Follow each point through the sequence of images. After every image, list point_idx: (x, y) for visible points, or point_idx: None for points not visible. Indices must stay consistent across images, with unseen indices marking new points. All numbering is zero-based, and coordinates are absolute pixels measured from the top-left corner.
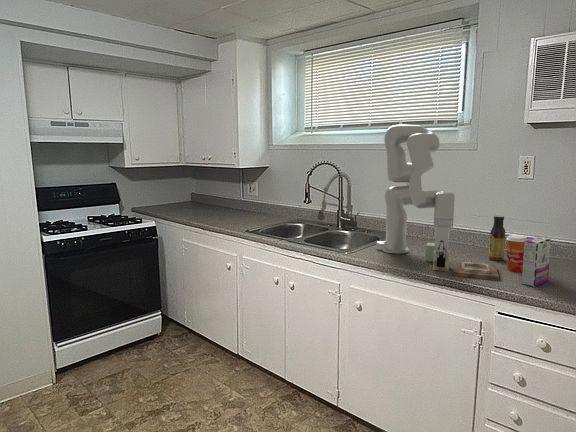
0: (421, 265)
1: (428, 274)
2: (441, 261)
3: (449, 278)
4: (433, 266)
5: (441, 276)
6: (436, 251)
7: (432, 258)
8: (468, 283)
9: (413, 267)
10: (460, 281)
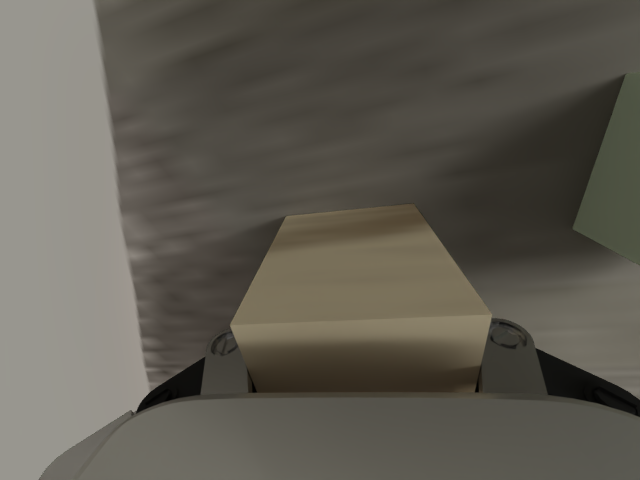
0: (377, 84)
1: (136, 209)
2: None
3: (159, 324)
4: (281, 231)
5: (161, 287)
6: (358, 347)
7: (627, 166)
8: (152, 387)
9: (249, 11)
10: (153, 364)
